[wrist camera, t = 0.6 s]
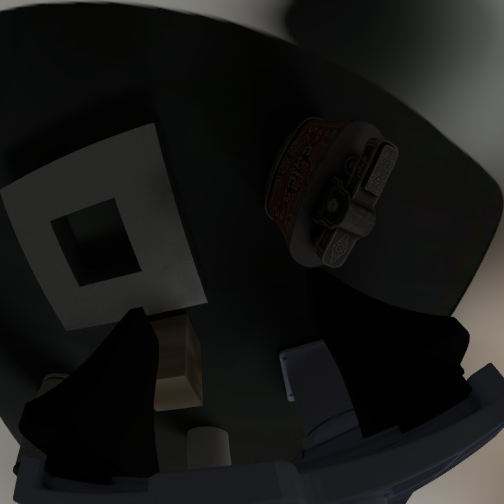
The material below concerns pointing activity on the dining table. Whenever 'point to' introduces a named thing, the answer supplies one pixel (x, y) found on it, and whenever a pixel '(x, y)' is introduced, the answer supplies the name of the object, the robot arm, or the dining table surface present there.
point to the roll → (207, 448)
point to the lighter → (327, 187)
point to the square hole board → (134, 219)
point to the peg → (177, 364)
